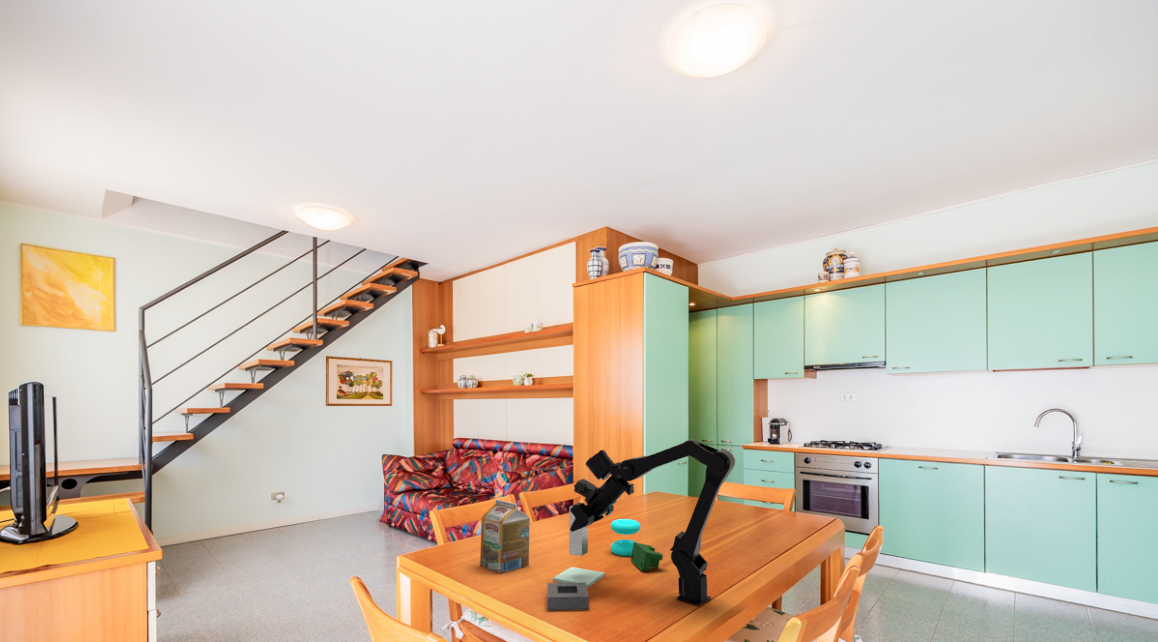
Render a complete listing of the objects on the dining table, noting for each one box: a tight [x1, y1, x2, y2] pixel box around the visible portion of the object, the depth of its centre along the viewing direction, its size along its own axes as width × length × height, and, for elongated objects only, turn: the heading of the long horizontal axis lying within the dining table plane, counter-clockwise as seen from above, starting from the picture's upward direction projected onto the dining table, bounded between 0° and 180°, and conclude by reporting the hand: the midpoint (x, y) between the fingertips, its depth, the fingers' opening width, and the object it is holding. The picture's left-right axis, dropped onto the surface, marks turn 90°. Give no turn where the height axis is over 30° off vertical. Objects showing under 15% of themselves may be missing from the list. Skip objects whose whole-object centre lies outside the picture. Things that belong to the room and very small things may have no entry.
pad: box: [552, 566, 606, 589], centre depth 150 cm, size 11×11×1 cm
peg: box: [568, 505, 589, 557], centre depth 152 cm, size 4×4×13 cm
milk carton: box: [479, 499, 531, 575], centre depth 162 cm, size 11×11×19 cm
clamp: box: [630, 541, 664, 572], centre depth 162 cm, size 12×6×9 cm, turn 7°
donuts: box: [610, 518, 641, 557], centre depth 176 cm, size 10×10×10 cm
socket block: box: [546, 582, 590, 612], centre depth 133 cm, size 10×10×3 cm
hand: (574, 528), depth 152 cm, fingers closed on peg, 4 cm apart
